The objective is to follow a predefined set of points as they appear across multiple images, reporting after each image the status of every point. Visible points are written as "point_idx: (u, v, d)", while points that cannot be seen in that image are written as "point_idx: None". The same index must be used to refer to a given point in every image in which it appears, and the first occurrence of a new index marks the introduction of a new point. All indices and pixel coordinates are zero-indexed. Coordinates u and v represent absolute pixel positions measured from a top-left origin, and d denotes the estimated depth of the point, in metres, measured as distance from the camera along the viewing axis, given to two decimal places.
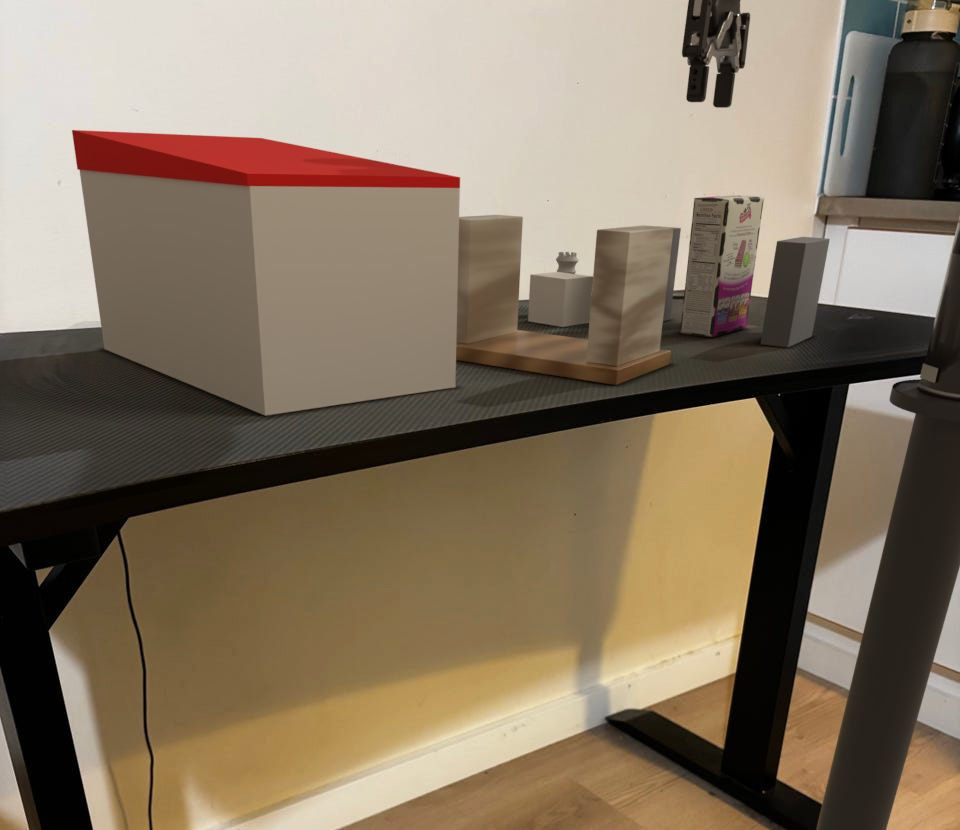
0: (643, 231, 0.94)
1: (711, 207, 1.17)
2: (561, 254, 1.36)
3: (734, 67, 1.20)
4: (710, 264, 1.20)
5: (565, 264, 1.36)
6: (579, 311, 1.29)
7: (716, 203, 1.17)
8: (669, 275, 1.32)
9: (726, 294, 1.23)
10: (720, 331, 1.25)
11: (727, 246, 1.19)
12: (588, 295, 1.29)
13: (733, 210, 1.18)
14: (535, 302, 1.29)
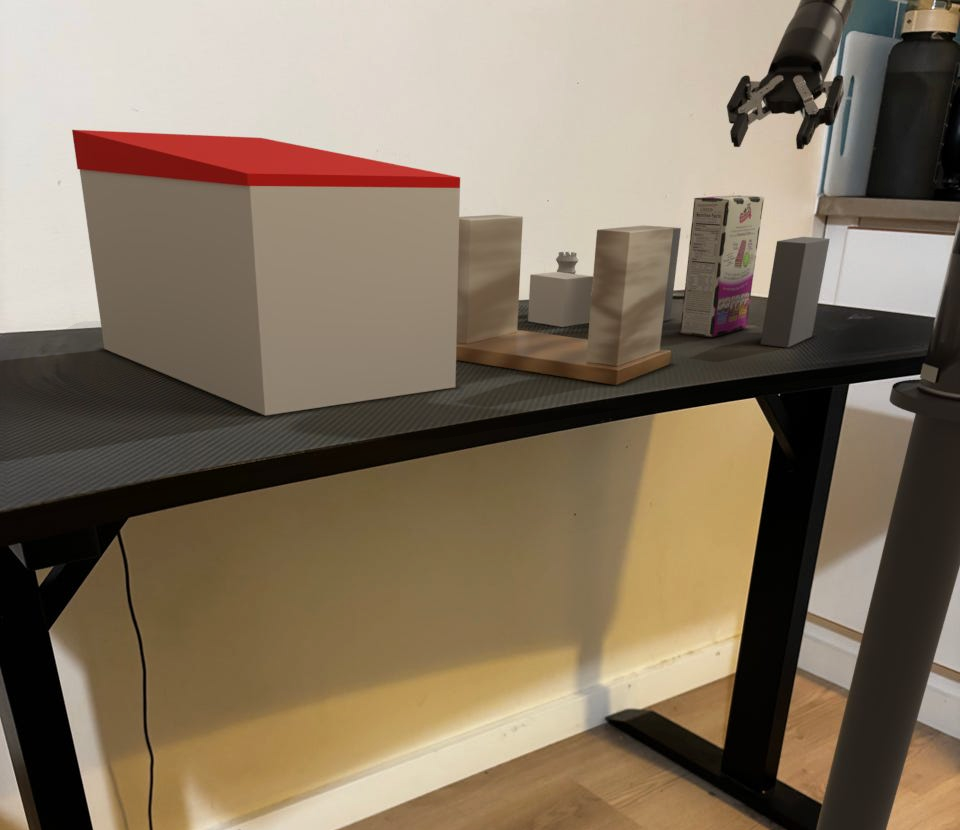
0: (643, 231, 0.94)
1: (711, 207, 1.17)
2: (561, 254, 1.36)
3: (807, 111, 1.25)
4: (710, 264, 1.20)
5: (565, 264, 1.36)
6: (579, 311, 1.29)
7: (716, 203, 1.17)
8: (669, 275, 1.32)
9: (726, 294, 1.23)
10: (720, 331, 1.25)
11: (727, 246, 1.19)
12: (588, 295, 1.29)
13: (733, 210, 1.18)
14: (535, 302, 1.29)
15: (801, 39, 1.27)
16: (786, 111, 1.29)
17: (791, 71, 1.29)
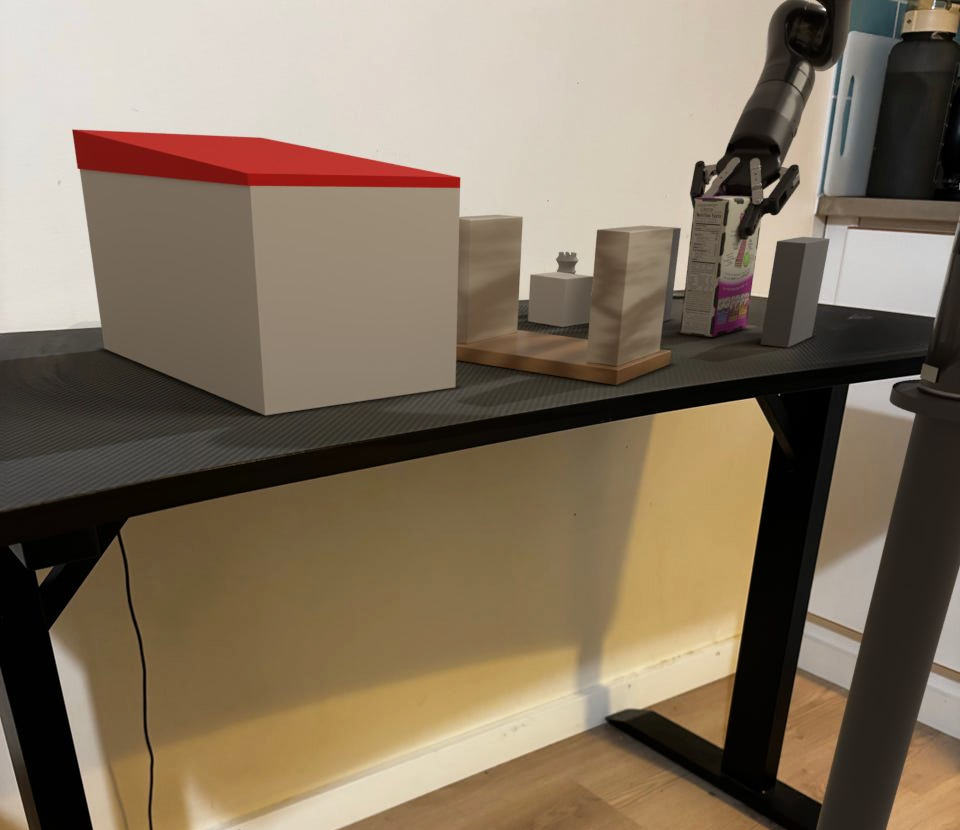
0: (643, 231, 0.94)
1: (711, 207, 1.17)
2: (561, 254, 1.36)
3: None
4: (710, 264, 1.20)
5: (565, 264, 1.36)
6: (579, 311, 1.29)
7: (716, 203, 1.17)
8: (669, 275, 1.32)
9: (726, 294, 1.23)
10: (719, 331, 1.25)
11: (727, 246, 1.19)
12: (588, 295, 1.29)
13: (733, 210, 1.18)
14: (535, 302, 1.29)
15: (758, 120, 1.21)
16: (743, 194, 1.23)
17: (749, 153, 1.23)
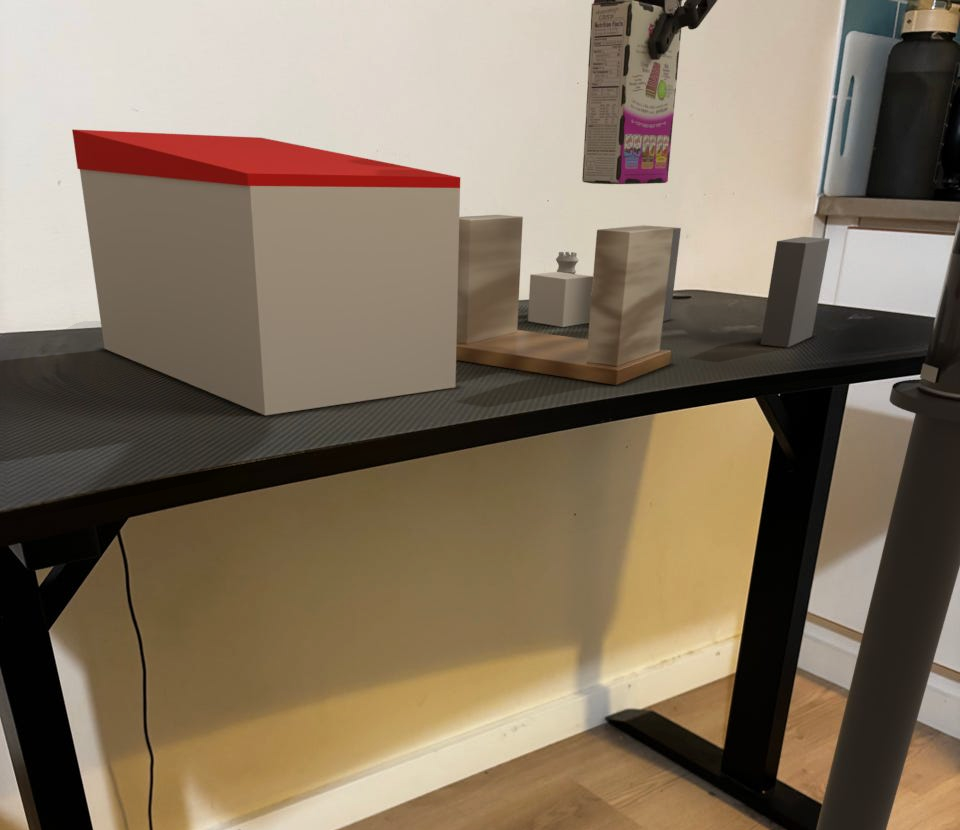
0: (643, 231, 0.94)
1: (612, 13, 0.95)
2: (561, 254, 1.36)
3: None
4: (613, 89, 0.97)
5: (565, 264, 1.36)
6: (579, 311, 1.29)
7: (617, 7, 0.94)
8: (669, 275, 1.32)
9: (636, 129, 1.00)
10: (629, 177, 1.02)
11: (633, 64, 0.96)
12: (588, 295, 1.29)
13: (639, 16, 0.95)
14: (535, 302, 1.29)
15: None
16: None
17: None
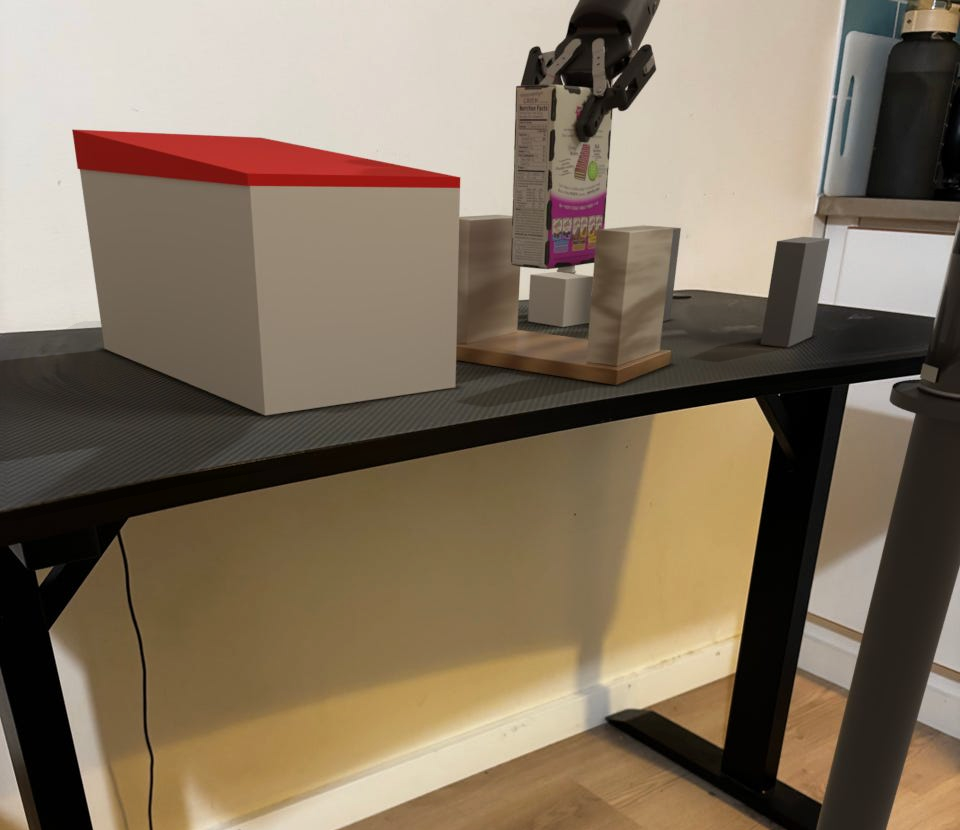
0: (643, 231, 0.94)
1: (536, 97, 0.91)
2: None
3: None
4: (539, 173, 0.94)
5: None
6: (579, 311, 1.29)
7: (541, 91, 0.91)
8: (669, 275, 1.32)
9: (564, 213, 0.96)
10: (559, 261, 0.98)
11: (559, 148, 0.93)
12: (588, 295, 1.29)
13: (565, 100, 0.91)
14: (535, 302, 1.29)
15: None
16: (587, 86, 0.97)
17: (593, 34, 0.97)
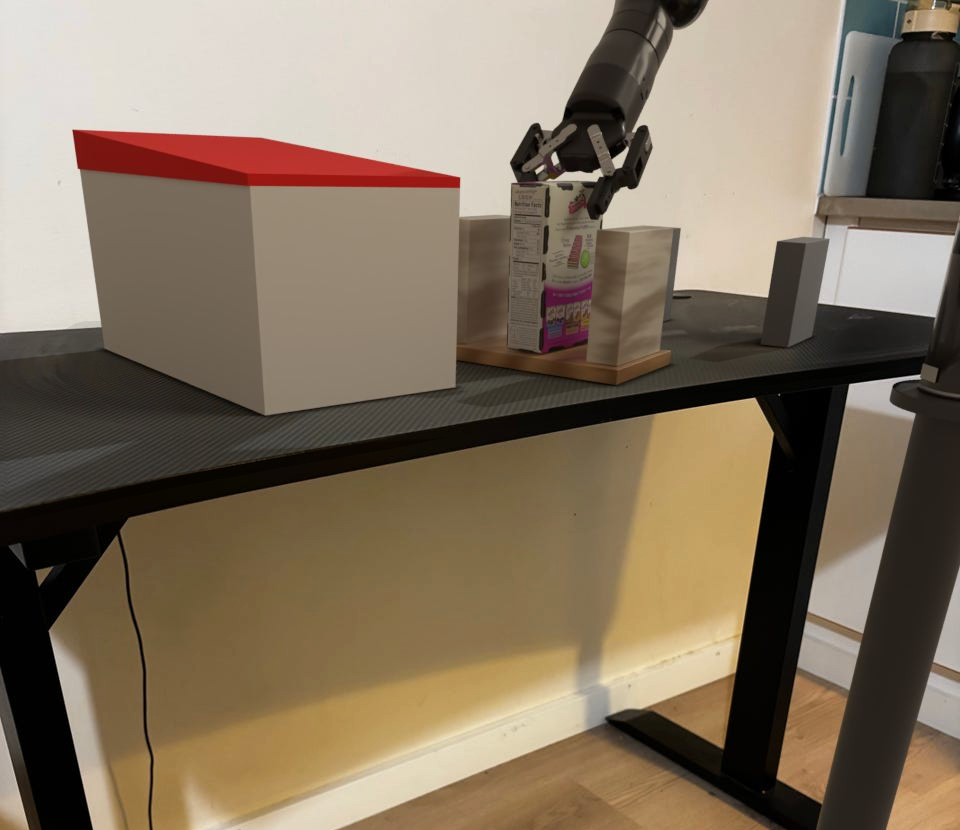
0: (643, 231, 0.94)
1: (530, 194, 0.95)
2: None
3: (603, 171, 0.97)
4: (533, 265, 0.98)
5: None
6: None
7: (535, 190, 0.94)
8: (669, 275, 1.32)
9: (558, 301, 1.00)
10: (553, 346, 1.02)
11: (553, 242, 0.97)
12: None
13: (558, 197, 0.95)
14: None
15: (597, 78, 0.99)
16: (582, 169, 1.01)
17: (588, 119, 1.01)
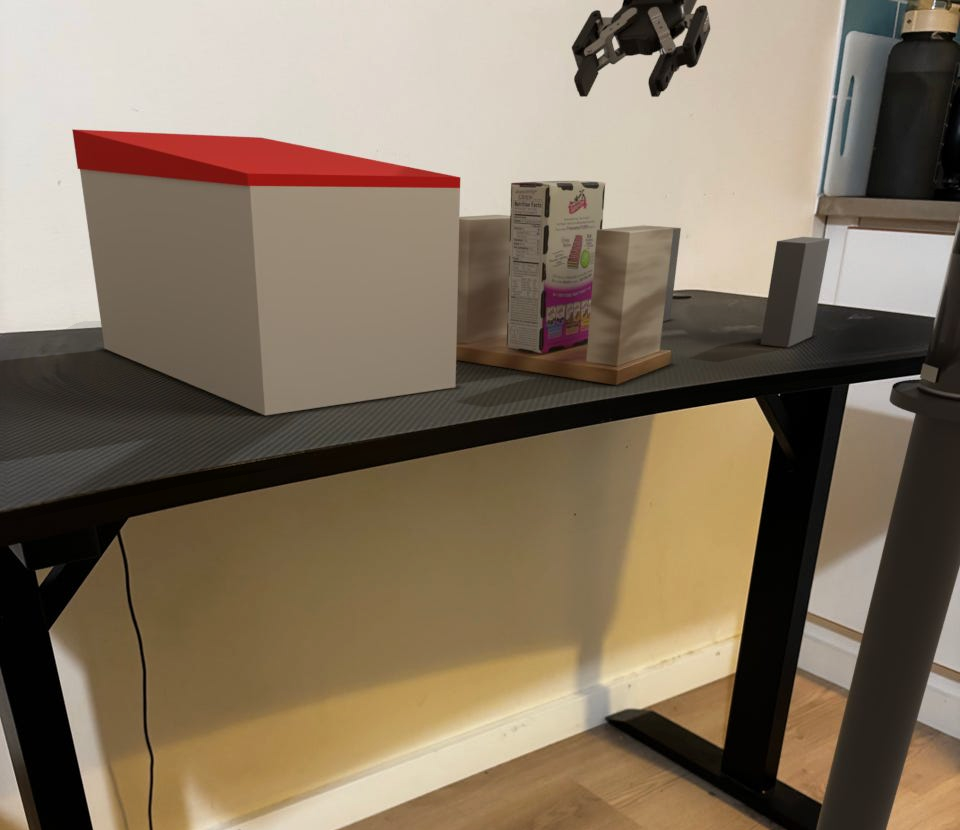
0: (643, 231, 0.94)
1: (530, 194, 0.95)
2: None
3: (663, 49, 1.01)
4: (533, 265, 0.98)
5: None
6: None
7: (535, 190, 0.94)
8: (669, 275, 1.32)
9: (558, 301, 1.00)
10: (553, 346, 1.02)
11: (553, 242, 0.97)
12: None
13: (558, 197, 0.95)
14: None
15: None
16: (642, 52, 1.05)
17: (648, 3, 1.05)
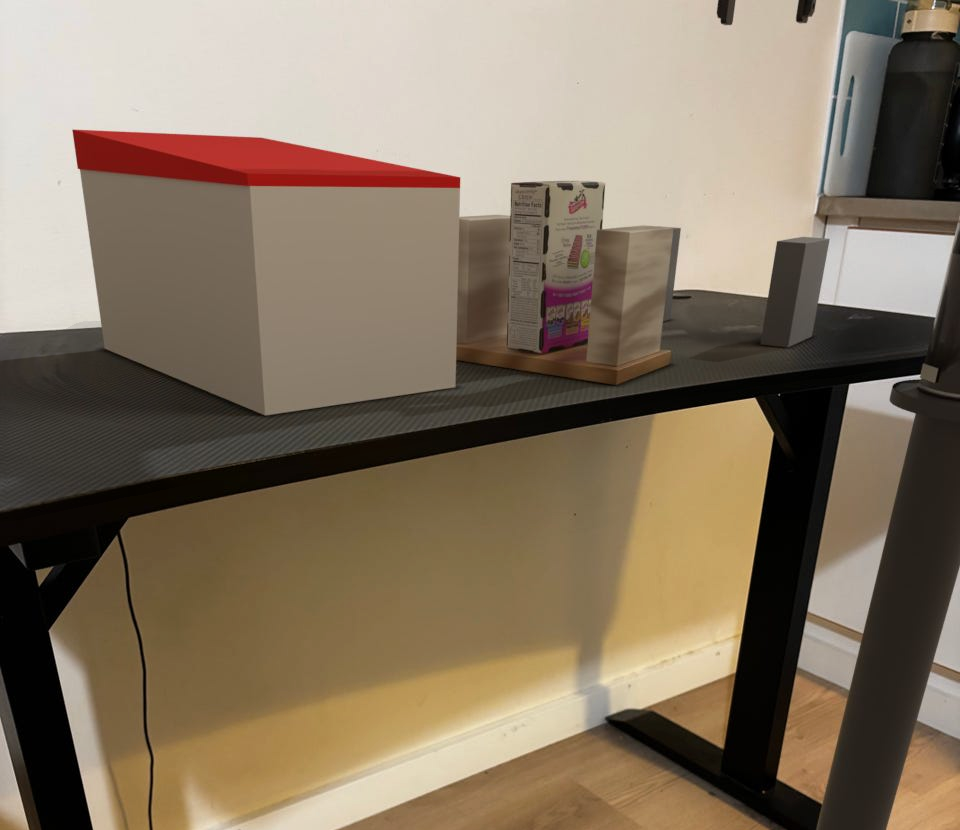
0: (643, 231, 0.94)
1: (530, 194, 0.95)
2: None
3: None
4: (533, 265, 0.98)
5: None
6: None
7: (535, 190, 0.94)
8: (669, 275, 1.32)
9: (558, 301, 1.00)
10: (553, 346, 1.02)
11: (553, 242, 0.97)
12: None
13: (558, 197, 0.95)
14: None
15: None
16: None
17: None
